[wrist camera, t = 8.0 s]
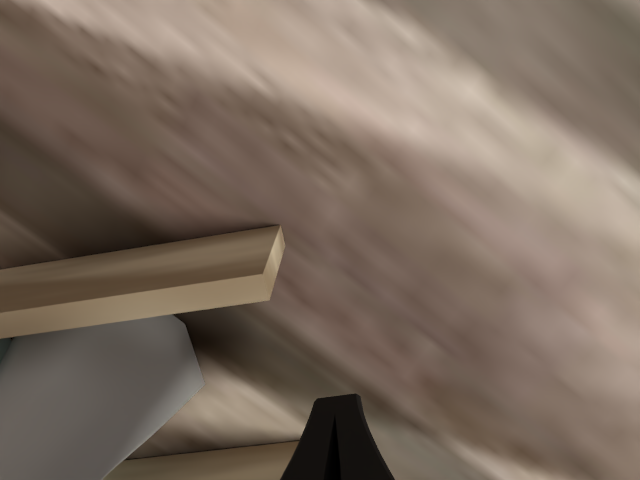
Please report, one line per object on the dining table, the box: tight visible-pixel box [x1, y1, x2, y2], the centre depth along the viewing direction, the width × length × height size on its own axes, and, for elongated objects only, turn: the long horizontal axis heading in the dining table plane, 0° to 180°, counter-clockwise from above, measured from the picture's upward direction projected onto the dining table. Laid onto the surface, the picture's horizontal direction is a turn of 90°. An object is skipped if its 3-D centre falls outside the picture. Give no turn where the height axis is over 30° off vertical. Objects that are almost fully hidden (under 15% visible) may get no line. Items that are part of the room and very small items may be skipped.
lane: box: [0, 225, 299, 480], centre depth 15 cm, size 11×17×5 cm, turn 100°
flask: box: [0, 314, 205, 480], centre depth 13 cm, size 7×7×10 cm
